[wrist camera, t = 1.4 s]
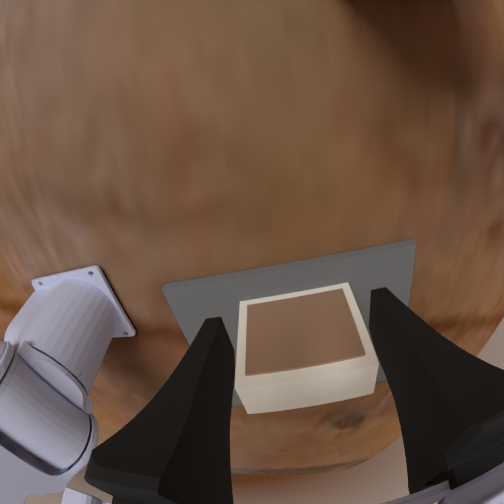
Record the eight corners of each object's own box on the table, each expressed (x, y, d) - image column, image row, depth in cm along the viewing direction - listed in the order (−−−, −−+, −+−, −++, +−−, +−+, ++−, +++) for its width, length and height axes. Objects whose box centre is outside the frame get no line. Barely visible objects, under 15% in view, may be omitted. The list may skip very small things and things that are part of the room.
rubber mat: (224, 400, 32) (224, 406, 31) (164, 283, 23) (161, 289, 22) (391, 372, 30) (393, 377, 29) (411, 239, 21) (415, 244, 20)
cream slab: (249, 331, 25) (247, 414, 18) (239, 299, 23) (233, 386, 16) (348, 314, 24) (373, 393, 17) (347, 280, 22) (379, 361, 15)
